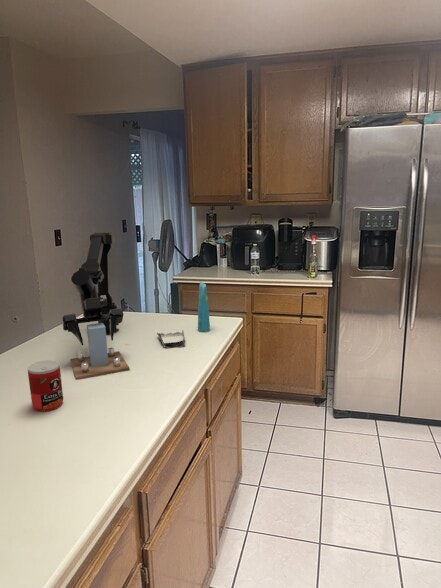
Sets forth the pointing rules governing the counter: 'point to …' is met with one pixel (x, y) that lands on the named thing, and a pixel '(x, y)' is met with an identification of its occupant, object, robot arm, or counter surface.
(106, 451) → the counter surface
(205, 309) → the tube
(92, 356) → the slate blue block
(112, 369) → the peg stand
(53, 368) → the canned food
